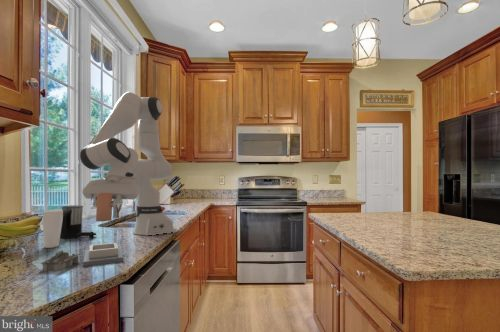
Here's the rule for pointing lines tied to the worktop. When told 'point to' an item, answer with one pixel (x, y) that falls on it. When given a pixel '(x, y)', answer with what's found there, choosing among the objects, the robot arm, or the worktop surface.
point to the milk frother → (73, 222)
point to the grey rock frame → (60, 261)
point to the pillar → (104, 207)
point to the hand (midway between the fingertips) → (103, 206)
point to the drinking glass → (52, 227)
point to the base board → (102, 254)
